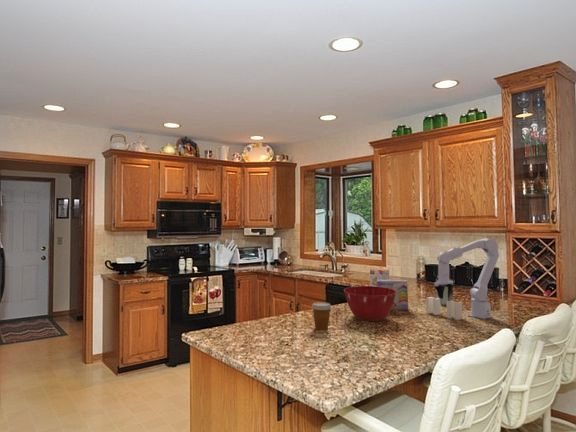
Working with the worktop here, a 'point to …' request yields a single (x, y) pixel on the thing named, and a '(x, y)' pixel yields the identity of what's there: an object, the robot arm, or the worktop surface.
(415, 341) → the worktop surface
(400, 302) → the cake pan box
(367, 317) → the mixing bowl
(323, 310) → the disposable coffee cup
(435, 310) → the domino
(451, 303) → the domino
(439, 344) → the worktop surface
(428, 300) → the domino
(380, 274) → the cracker box
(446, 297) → the domino
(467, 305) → the worktop surface
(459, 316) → the domino
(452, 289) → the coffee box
